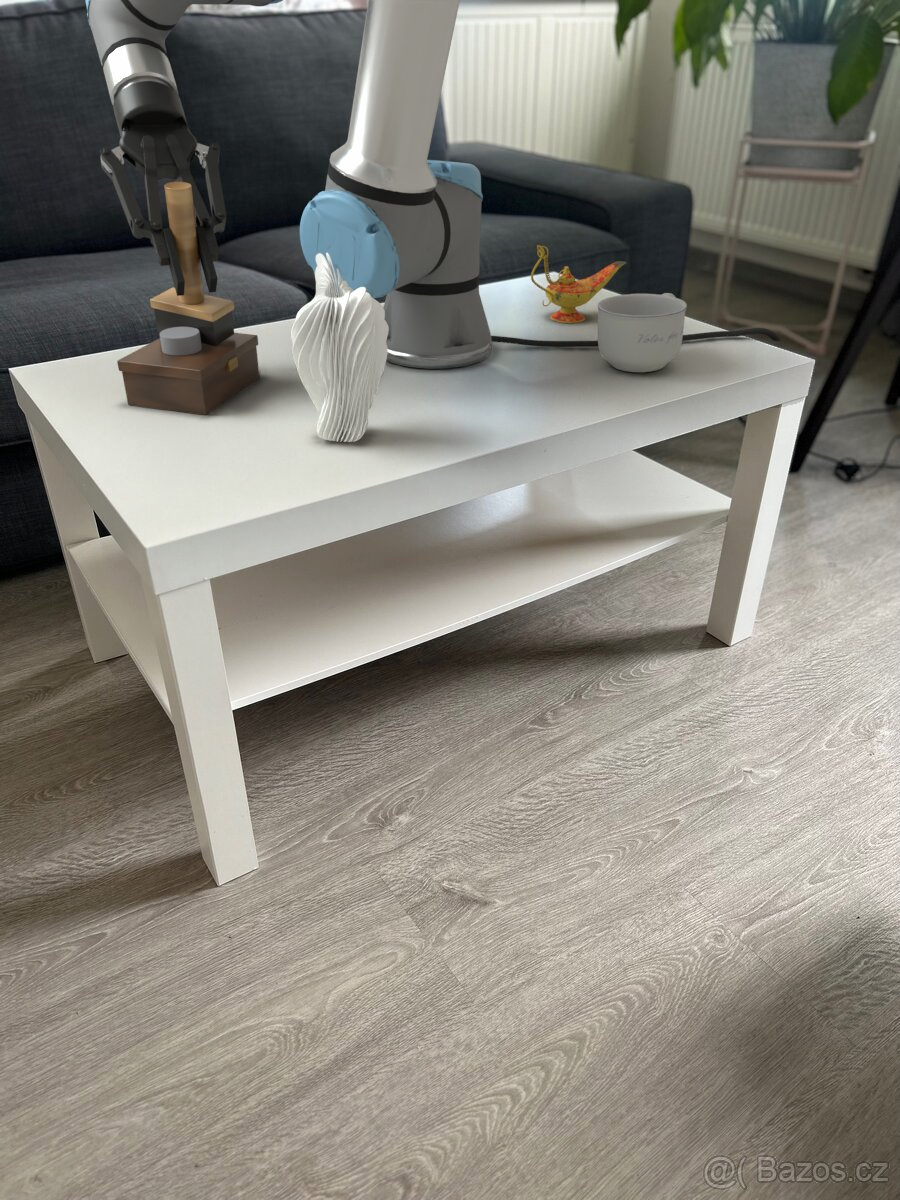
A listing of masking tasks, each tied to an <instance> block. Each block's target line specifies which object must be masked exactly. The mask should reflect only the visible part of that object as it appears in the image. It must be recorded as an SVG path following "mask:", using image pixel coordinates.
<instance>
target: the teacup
mask: <svg viewBox="0 0 900 1200" xmlns="http://www.w3.org/2000/svg"><path fill="white" fill-rule="evenodd" d="M687 308H688V304H687V303H686V301H684V300H682V299H680V298H678V297H676V296H675V295H674V294H673V293H671V292H670V293H669V292H664V293H662V294H658V293H657V294H656V293H629V294H627V293H626V294H619V295H613V296H609V297H605V298H603V299H601V300H599V302H597V310H598V311H597V313H598V314H597V341H598V346H599V347H598V350H599V353H600V355H601V357H602V358H603V359H604V360H606V362H608V363H609V364H610V366H612V367H613V368H614V369H617V370H619V371H623V372H629V373H649V372H654V371H658V370H661V369H663V368H664V367H666V366H667V365H668V363H670V362H671V361H673V360H674V359H675V358H676V357H677V356H678V355H679V352H680V350H681V348H682V343H683V341H682V338H683V335H684V329H685V318H686V310H687Z"/></svg>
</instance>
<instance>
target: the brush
mask: <svg viewBox="0 0 900 1200" xmlns="http://www.w3.org/2000/svg"><path fill="white" fill-rule="evenodd" d="M163 188H164V194H165V202H166V211H167V218H168V224H169V228H170V229H171V232H172V236H173V240H174V243H175V247H176V251H177V254H178V258H179V262H180V265H181V269H182V273H183V276H184V280H185V288H184V295H181V296H177V293H176V290H175V287H171V288H168V289H167V290H165V291H163V292H161V293H159V294H158V295H156V296H153V297H152V298H150V299H149V301H150V302H149V303H150V307H151V309H153V312H154V313H153V314H154V319H155V325H156V333H159V334H160V332H161V331H163V330H165V329H168V328H173V327H193V328H196V329H198V330H199V331H200V338H201V343H204V344H208V345H212V346H217V345H218V344H220V343H221V342H223V341H224V340H226V339H227V338H229V337H231V336H232V335H234V333H235V326H234V316H233V311H234V310H235V302H234V300H231V299H226V298H221V297H217V296H213V295H209V294H205V292H204V284H203V283H204V282H203V275H202V265H201V261H200V256H199V248H198V239H197V230H196V221H195V213H194V204H193V195H192V187H191V184H189V183H186V182H175V181H171V182H167V183H165V184H164V186H163Z"/></svg>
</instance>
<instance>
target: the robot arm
mask: <svg viewBox="0 0 900 1200" xmlns="http://www.w3.org/2000/svg"><path fill="white" fill-rule="evenodd" d="M283 1H284V0H85V5H86V10H87V13H86V17H87V23H88V25H89V27H90V30H91V32H92V36H93V40H94V43H95V46H96V50H97V53H98V58H99V61H100V64H101V68H102V70H103V74H104V78H105V81H106V87H107V90H108V94H109V98H110V102H111V104H112V106H113V109H112V110H113V113H114V116H115V121H116V124H117V125H116V126H117V128H118V133H119V136H120V139H119V142H118V144H119V146H116V147H114V148H112V149H110V148H109V147H105V146H104V147H102V148H101V149H100V152H99V153H100V164H101V170H102V171H103V172H104V173H105V174H106V175H107V177H108V178H109V179H110V180H111V181H112V183H113V186H114V189H115V191H116V194H117V197H118V199H119V201H120V204H121V207H122V210H123V212H124V215H125V218H126V220H127V222H128V225H129V227H130V230H131V233H132V235H133V237H134V238H135V239H139V240H140V239H143V238H146V239H149V240H150V244H151V245H152V246H153V249H154V252H155V256H156V260H157V263H158V264H159V266H160V267H163V266H168V267H169V272H170V275H171V278H172V283H173V285H174V288H175V290H176V293H177V296H181V295H184V288H185V280H184V276H183V273H182V269H181V265H180V262H179V258H178V254H177V251H176V247H175V243H174V240H173V236H172V232H171V229H170V227H168V228H163V217H162V209H161V208H162V207H161V197H160V186H159V181H161V180H163V179H168V180H173V182H186V183H189V184H191V187H192V195H193V204H194V213H195V221H196V230H197V239H198V248H199V256H200V265H201V269H202V273H203V276H204V280H205V283H206V286H207V290H208V293H216V292H217V286H218V275H217V271H216V268H215V264H214V262H218V260H219V252H220V248H219V245H218V242H217V238H216V235H215V233H223V232H224V231H225V230H226V224H227V209H226V203H225V198H224V192H223V188H222V181H221V175H220V169H219V164H220V155H221V146H220V144H219V143H217V142H211V143H210V144H209V146H208V145H205V144H202V143H200V142H198V141H197V138H196V137H195V136H194V135H193V134H192V132H191V131H190V129H189V126H188V122H187V118H186V115H185V111H184V108H183V107H184V106H183V105H182V101H181V98H180V96H179V91H178V87H177V83H176V80H175V79H176V78H175V77H174V73H173V69H172V66H171V61H170V57H169V55H168V53H167V52H168V51H167V48H166V43H165V42H166V39H167V38H168V36H169V35H170V33H171V32H172V30H173V29H174V28H175V27H176V25H178V23H179V21H180V20H181V18H182V17H183V15H184V14H185V12H186V11H187V9H189V7H190V6H192V5H203V6H205V5H208V6H209V5H211V6H212V5H213V6H215V5H217V6H218V5H228V6H229V5H231V6H232V5H236V6H251V7H266V6H268V5H274V4H278V3H281V2H283ZM460 2H461V0H368V1H367V7H366V14H365V21H364V28H363V33H362V41H361V46H360V47H361V48H360V52H359V53H360V54H359V60H358V68H357V74H356V81H355V86H354V87H355V88H354V93H353V101H352V107H351V114H350V120H349V128H348V135H347V140H346V142H345V143H344V144H342V145H340V147H338V148H337V149H335V150H334V151H333V152H331V154H330V157H329V162H328V170H327V175H326V182H325V190H322V191H320V192H318V193H317V194H316V195H315V196H314V197H312V200H309V202H308V203H307V205H306V206H305V208H304V209H303V212H302V215H301V218H300V221H299V222H300V223H299V240H300V245H301V250H302V253H303V256H304V259H305V261H306V263H307V265H308V266H310V267H311V269H312V271H313V275H314V276H315V270H316V267H317V263H316V255H317V254H319V253H320V254H322V255H323V256H324V257H325V258H326V260H327V262H328V259H327V256H326V253H328V254H329V256H330V259H331V261H332V264H333V268H334V271H335V276H336V280H337V283H338V274H337V269H339V272H340V275H341V278H342V281H346V282H347V284H348V286H349V287H350V288H352V289H353V290H354V291H355V290H356V289H358V288H360V287H365V288H366V292H368V293H369V294H370V295H371V297H372V298H374V299H378V298H382V297H383V298H384V297H385V300H384V304H383V308H384V311H385V318H384V320H385V321H386V322H387V324H388V327H389V331H388V336H387V340H386V344H387V349H388V352H387V359H386V362H389V363H392V364H395V365H399V366H403V367H410V368H416V369H452V368H459V367H460V368H461V367H464V366H469V365H473V364H477V363H479V362H481V361H484V360H485V359H487V358H488V357H489V356H490V354H491V353H492V343H502V344H512V345H514V344H515V345H521V346H526V347H527V346H528V347H546V348H599V346H598V340H538V339H527V338H518V337H511V336H500V335H492V333H491V330H490V326H489V322H488V319H487V315H486V312H485V308H484V304H483V302H482V298H481V295H480V265H481V264H480V263H481V261H480V260H481V231H482V230H481V229H482V202H483V198H484V196H483V193H482V175H481V172H480V170H479V169H478V167H477V166H475V165H474V164H472V163H467V162H459V161H458V162H457V161H449V160H436V159H428V157H429V152H430V147H431V143H432V138H433V133H434V129H435V123H436V119H437V114H438V109H439V104H440V99H441V94H442V90H443V85H444V80H445V75H446V70H447V66H448V65H447V64H448V61H449V56H450V50H451V46H452V40H453V36H454V31H455V26H456V21H457V17H458V11H459V7H460ZM195 157H198V160H199V164H200V165H201V167H202V168H203V169H205V175H204V176H205V183H206V189H207V195H208V200H209V206H210V211H211V215H210V213H209V211H208V209H207V206H206V204H205V202H204V199H203V198H202V195H201V193H200V191H199V189H198V186H197V185H196V182H195V179H194V177H193V175H192V173H191V168H190V166H191V164H192V162H193V161H194V158H195ZM125 161H127V162H128V163H129V164H130V165H131V166H132V167H134V168H135V169H136V170H137V171H138V172H139V173H141V174H142V175H143V176H144V178H143V179H144V185H145V188H144V189H145V192H146V194H145V195H146V203H147V212H148V213H147V214H148V219H144V216H143V214H142V211H141V208H140V205H139V204H138V200H137V198H136V196H135V193H134V190H133V188H132V185H131V183H130V180H129V177H128V175H127V172H126V169H125ZM328 264H329V262H328ZM329 267H330V265H329ZM330 269H331V268H330ZM331 272H332V270H331ZM332 275H333V273H332ZM333 278H334V275H333ZM334 281H335V278H334ZM335 286H336V282H335ZM336 291H337V287H336ZM337 297H338V293H337ZM749 335H763V336H764V335H765V336H767V337H768V338H770V339H771V340H772V341H774V342H781V338H780V337H779V336H778V335H777V334H776V332H774V331H772V330H770V329H768V328H765V327H752V328H751V327H750V328H745V329H737V330H720V331H719V330H717V331H708V332H697V333H690V334H683V338H682V342H686V341H695V340H704V339H714V338H730V337H731V338H734V337H742V336H749Z"/></svg>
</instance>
